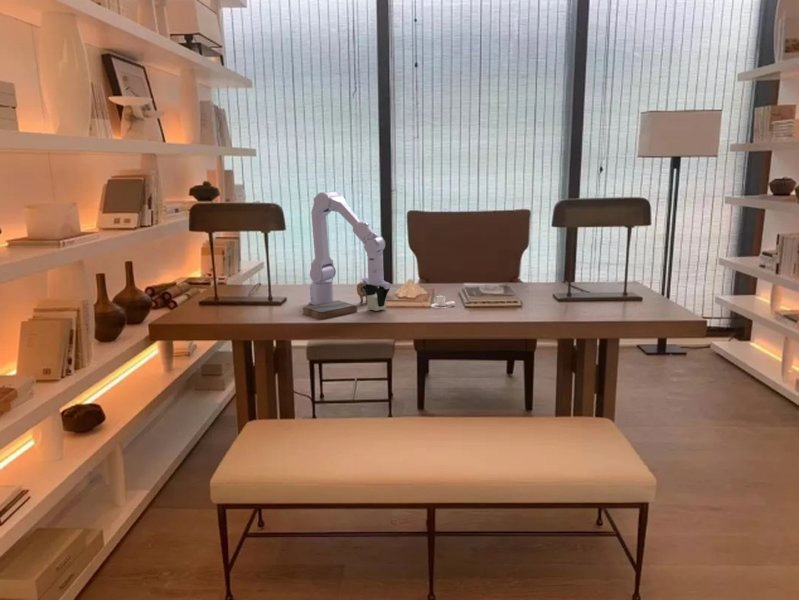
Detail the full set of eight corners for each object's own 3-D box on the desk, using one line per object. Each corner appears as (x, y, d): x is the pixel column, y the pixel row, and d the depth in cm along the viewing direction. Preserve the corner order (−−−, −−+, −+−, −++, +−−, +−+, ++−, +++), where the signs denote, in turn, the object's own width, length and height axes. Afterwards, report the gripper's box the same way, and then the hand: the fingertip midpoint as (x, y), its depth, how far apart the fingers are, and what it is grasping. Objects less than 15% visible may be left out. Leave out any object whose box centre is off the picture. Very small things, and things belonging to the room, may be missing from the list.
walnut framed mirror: (303, 313, 235) (302, 307, 234) (338, 306, 245) (338, 300, 244) (321, 319, 226) (320, 312, 225) (357, 311, 236) (356, 305, 235)
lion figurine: (365, 306, 244) (364, 283, 242) (354, 305, 246) (353, 282, 244) (384, 298, 256) (383, 276, 254) (373, 297, 259) (372, 275, 257)
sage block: (367, 308, 238) (367, 295, 237) (377, 306, 241) (377, 293, 240) (375, 310, 234) (375, 297, 233) (386, 308, 237) (385, 295, 236)
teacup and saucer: (457, 306, 243) (457, 295, 242) (447, 310, 236) (446, 299, 236) (437, 303, 248) (437, 293, 247) (427, 307, 241) (427, 297, 240)
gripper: (355, 268, 237) (356, 303, 240) (379, 273, 226) (380, 310, 229) (370, 265, 242) (371, 300, 245) (394, 270, 231) (395, 306, 234)
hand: (376, 304), depth 237 cm, fingers closed on sage block, 5 cm apart
